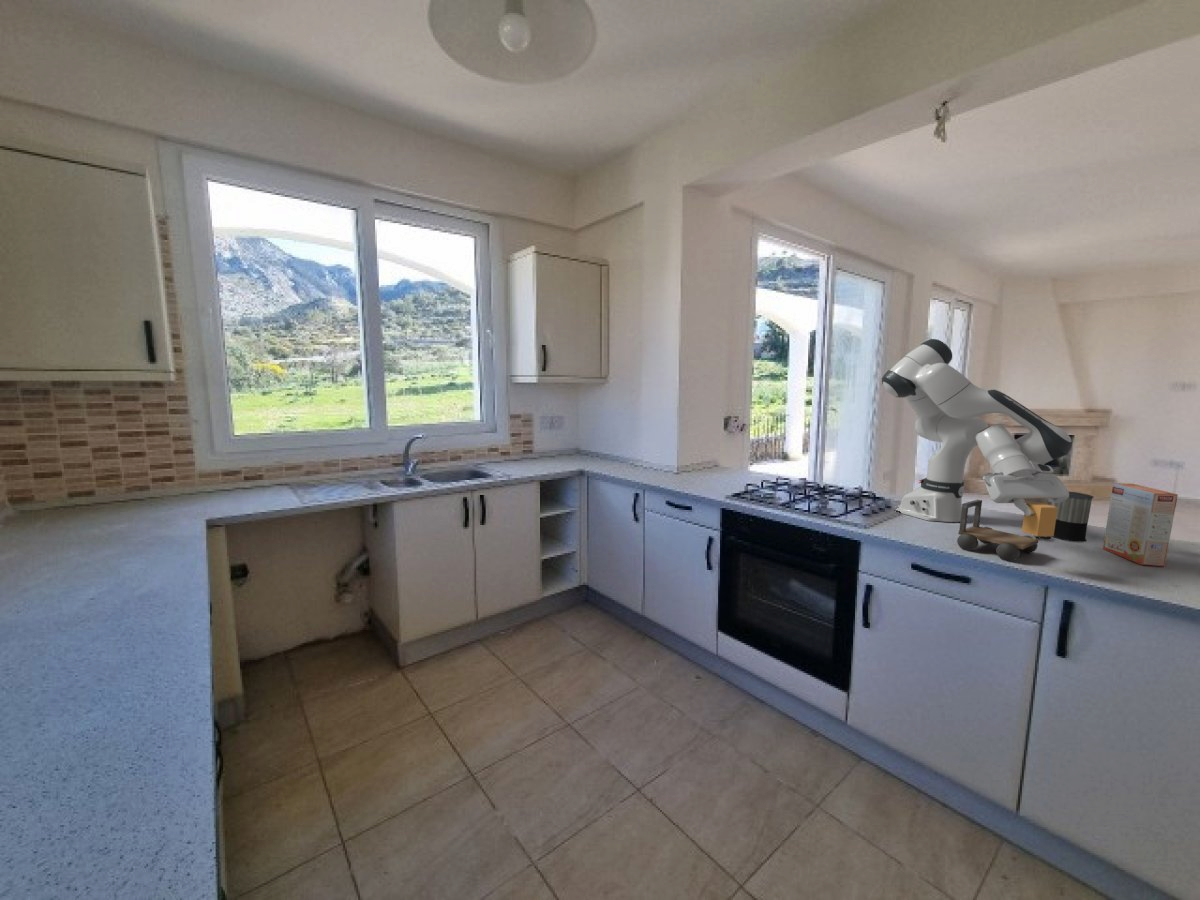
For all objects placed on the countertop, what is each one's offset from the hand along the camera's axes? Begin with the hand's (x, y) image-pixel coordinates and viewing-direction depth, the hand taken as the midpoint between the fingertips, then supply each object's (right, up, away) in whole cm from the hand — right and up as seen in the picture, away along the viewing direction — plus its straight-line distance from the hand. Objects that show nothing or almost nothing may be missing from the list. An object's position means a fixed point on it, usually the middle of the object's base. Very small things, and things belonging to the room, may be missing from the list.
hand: (1042, 515), depth 134 cm
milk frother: (+29, -11, +28) cm, 42 cm away
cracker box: (+36, -14, +11) cm, 40 cm away
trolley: (0, -13, +16) cm, 20 cm away
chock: (0, -5, +1) cm, 5 cm away
